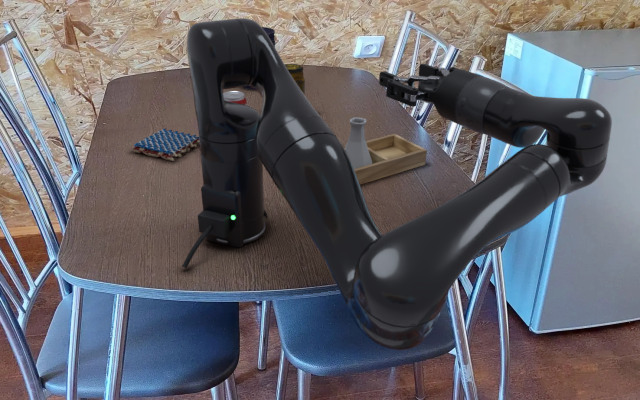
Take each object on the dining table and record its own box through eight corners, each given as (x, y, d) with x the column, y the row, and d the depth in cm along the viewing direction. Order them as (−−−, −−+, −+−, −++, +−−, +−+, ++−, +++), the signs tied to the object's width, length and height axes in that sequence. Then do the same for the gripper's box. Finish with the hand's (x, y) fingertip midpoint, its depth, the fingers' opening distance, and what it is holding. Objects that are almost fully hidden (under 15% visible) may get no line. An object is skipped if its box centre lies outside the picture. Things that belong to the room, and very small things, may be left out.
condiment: (286, 108, 143) (285, 61, 137) (317, 113, 140) (317, 65, 134) (273, 117, 137) (271, 68, 131) (304, 123, 134) (304, 73, 128)
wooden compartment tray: (425, 164, 115) (427, 149, 114) (348, 188, 106) (349, 172, 104) (393, 147, 122) (394, 133, 121) (318, 168, 113) (319, 153, 111)
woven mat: (131, 153, 118) (129, 144, 117) (163, 135, 126) (162, 127, 125) (171, 162, 114) (170, 153, 113) (202, 144, 122) (201, 135, 121)
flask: (368, 179, 107) (371, 129, 102) (332, 172, 109) (333, 124, 104) (377, 163, 113) (381, 116, 108) (343, 158, 115) (345, 111, 110)
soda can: (244, 154, 117) (241, 99, 112) (220, 152, 118) (216, 97, 112) (252, 145, 122) (249, 91, 116) (229, 142, 123) (225, 89, 117)
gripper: (436, 137, 79) (365, 102, 91) (504, 118, 86) (430, 88, 98) (443, 85, 76) (368, 56, 87) (513, 69, 83) (435, 45, 94)
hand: (401, 73), depth 93 cm, fingers open, 8 cm apart
